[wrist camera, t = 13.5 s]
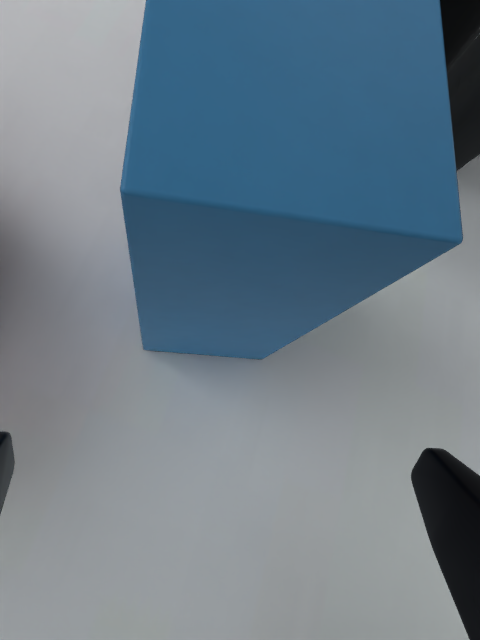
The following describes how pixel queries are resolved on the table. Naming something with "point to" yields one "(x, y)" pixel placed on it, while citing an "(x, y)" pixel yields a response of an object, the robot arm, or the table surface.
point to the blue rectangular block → (283, 165)
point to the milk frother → (463, 74)
